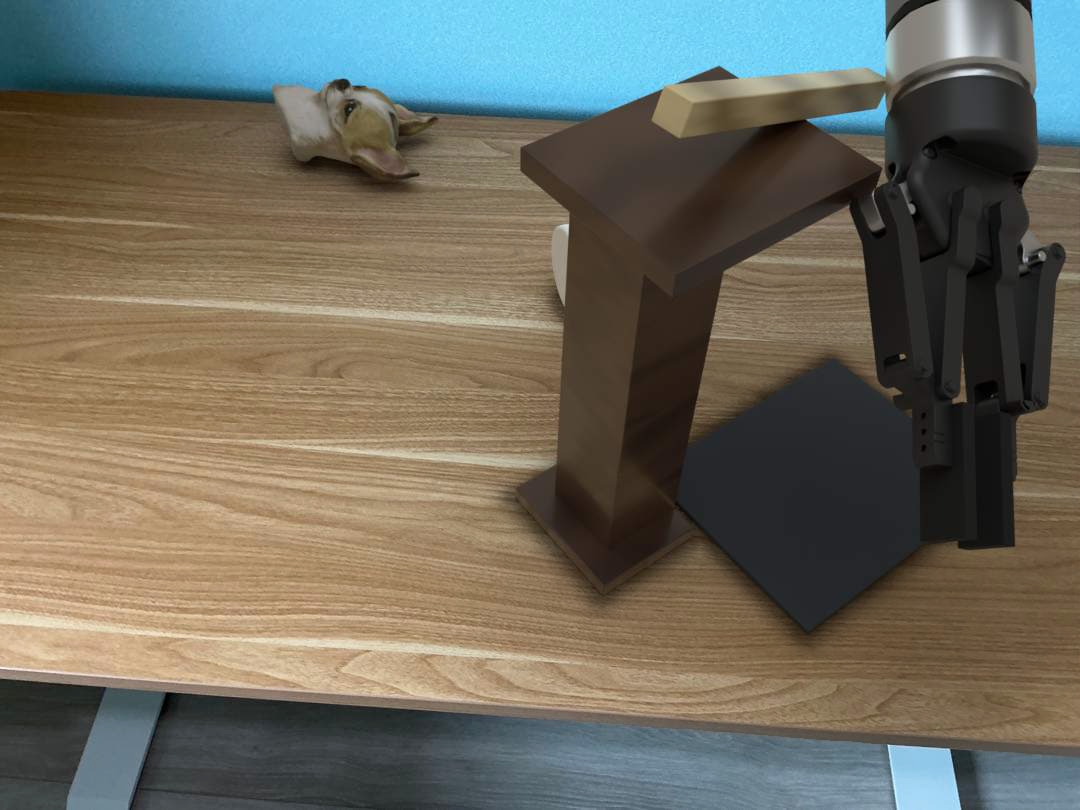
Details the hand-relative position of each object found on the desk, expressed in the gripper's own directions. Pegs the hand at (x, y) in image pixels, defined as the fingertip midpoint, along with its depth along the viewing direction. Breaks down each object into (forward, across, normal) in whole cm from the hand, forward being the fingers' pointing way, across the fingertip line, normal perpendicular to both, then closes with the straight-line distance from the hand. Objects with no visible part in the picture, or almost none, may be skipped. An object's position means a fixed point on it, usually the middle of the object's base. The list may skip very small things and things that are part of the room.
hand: (966, 543), depth 48 cm
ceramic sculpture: (-39, +20, -55) cm, 71 cm away
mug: (-22, 0, -35) cm, 41 cm away
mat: (-7, -10, -22) cm, 25 cm away
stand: (-5, +2, -27) cm, 28 cm away
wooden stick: (-22, +10, -3) cm, 24 cm away
